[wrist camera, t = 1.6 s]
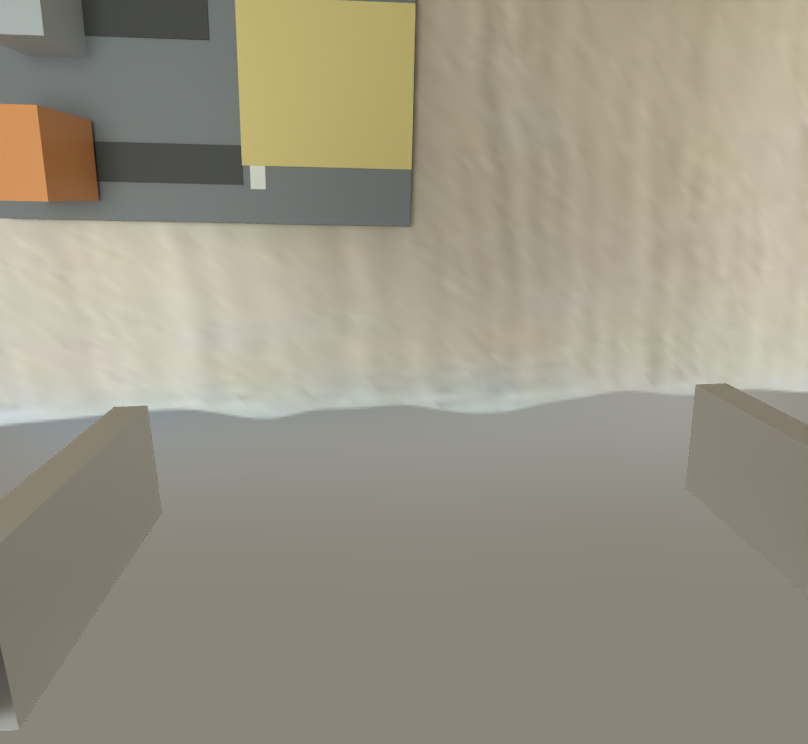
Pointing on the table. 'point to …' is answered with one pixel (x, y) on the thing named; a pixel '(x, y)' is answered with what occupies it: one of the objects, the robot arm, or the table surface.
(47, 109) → the lever
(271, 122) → the pad
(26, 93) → the panel
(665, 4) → the table surface
